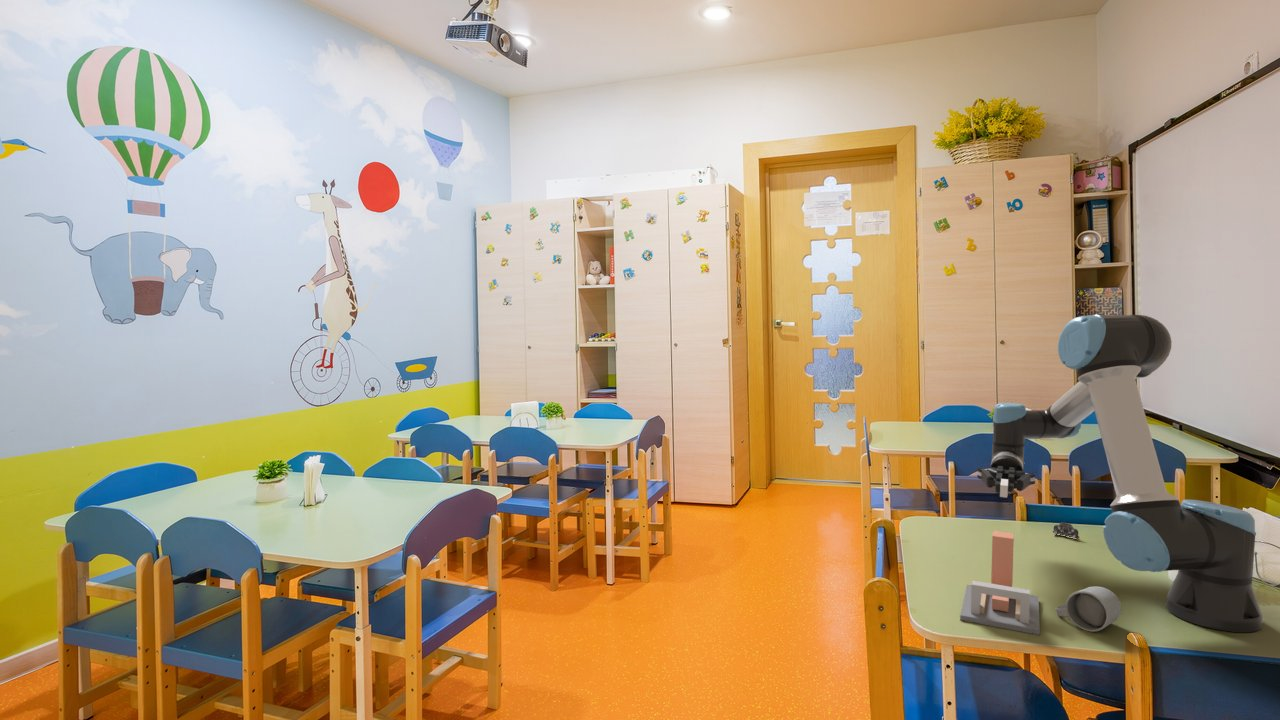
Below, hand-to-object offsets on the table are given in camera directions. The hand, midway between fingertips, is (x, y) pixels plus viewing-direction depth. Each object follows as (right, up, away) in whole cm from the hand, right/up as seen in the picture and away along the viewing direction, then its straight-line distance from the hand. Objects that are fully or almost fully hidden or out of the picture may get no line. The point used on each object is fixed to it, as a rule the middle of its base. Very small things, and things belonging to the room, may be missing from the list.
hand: (1003, 491), depth 157 cm
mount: (-7, -23, -12) cm, 26 cm away
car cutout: (+38, -20, +32) cm, 54 cm away
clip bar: (-6, -21, -10) cm, 24 cm away
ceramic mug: (+7, -23, -18) cm, 30 cm away
